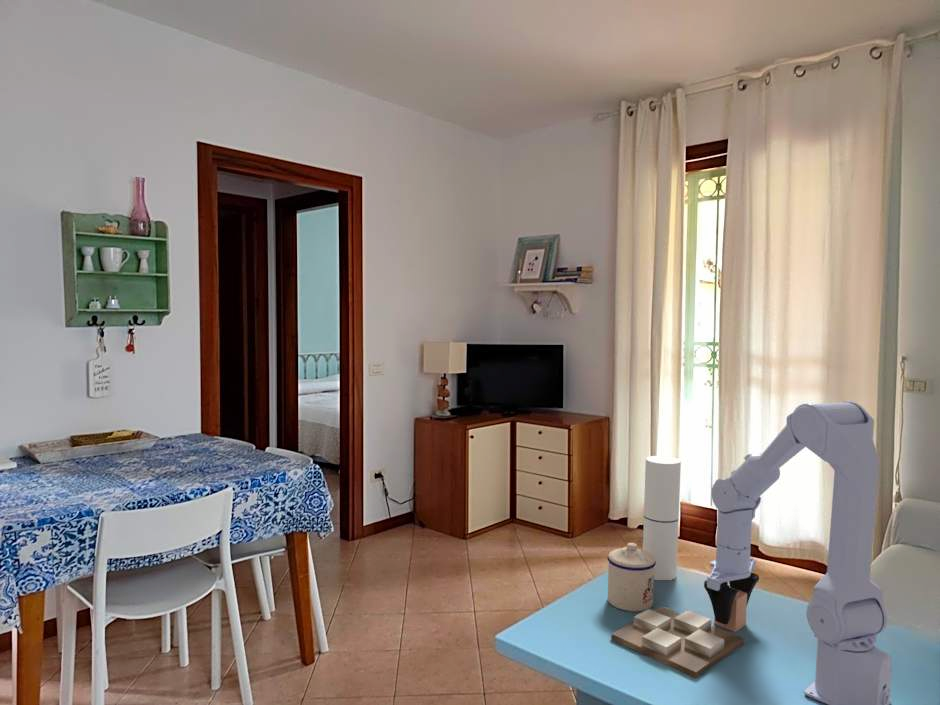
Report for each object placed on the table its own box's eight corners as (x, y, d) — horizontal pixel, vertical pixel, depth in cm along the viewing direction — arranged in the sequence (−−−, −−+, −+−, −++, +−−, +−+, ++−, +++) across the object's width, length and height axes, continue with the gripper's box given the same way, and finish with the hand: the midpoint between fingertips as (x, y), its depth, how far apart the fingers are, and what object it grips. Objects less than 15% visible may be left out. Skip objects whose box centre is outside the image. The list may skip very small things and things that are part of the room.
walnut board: (743, 643, 116) (744, 629, 116) (695, 678, 106) (696, 663, 105) (661, 611, 128) (662, 598, 128) (611, 639, 117) (611, 625, 117)
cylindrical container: (641, 578, 143) (645, 462, 141) (642, 565, 150) (646, 454, 148) (676, 582, 141) (680, 465, 139) (676, 569, 148) (680, 457, 146)
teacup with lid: (653, 616, 126) (655, 555, 125) (604, 609, 129) (605, 549, 128) (655, 589, 138) (657, 533, 137) (609, 583, 140) (611, 529, 139)
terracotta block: (745, 624, 123) (747, 593, 123) (735, 632, 121) (736, 599, 120) (724, 617, 126) (726, 586, 126) (714, 623, 124) (715, 592, 123)
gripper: (731, 529, 130) (728, 597, 131) (692, 547, 120) (689, 621, 121) (768, 539, 125) (764, 610, 126) (730, 559, 115) (727, 636, 116)
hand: (730, 616), depth 123 cm, fingers open, 6 cm apart
